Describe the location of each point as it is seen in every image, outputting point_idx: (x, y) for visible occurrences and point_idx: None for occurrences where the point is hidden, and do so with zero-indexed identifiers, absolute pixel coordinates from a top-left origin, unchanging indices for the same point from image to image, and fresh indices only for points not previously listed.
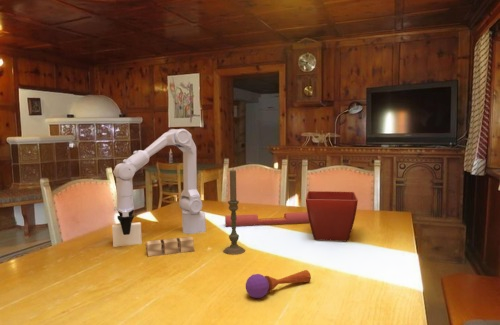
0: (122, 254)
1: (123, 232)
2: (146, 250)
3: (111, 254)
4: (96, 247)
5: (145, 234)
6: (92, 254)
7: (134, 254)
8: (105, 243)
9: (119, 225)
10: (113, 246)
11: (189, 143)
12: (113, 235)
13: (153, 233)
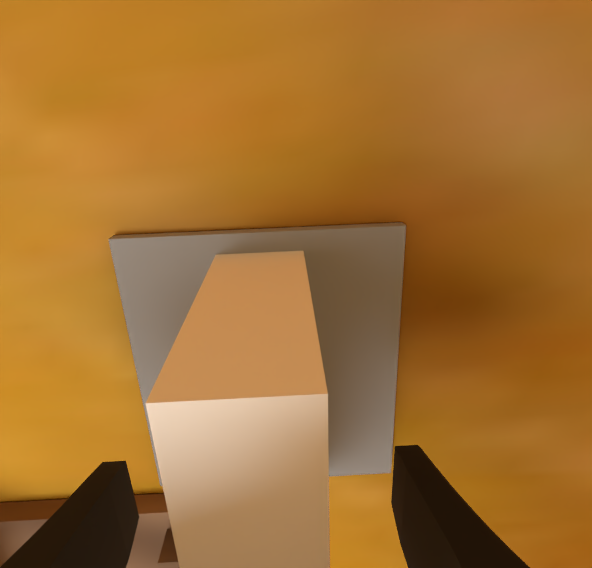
0: (45, 339)
1: (78, 492)
2: (39, 519)
3: (58, 244)
4: (355, 48)
5: (586, 480)
6: (86, 31)
7: (34, 426)
8: (475, 144)
9: (212, 508)
10: (212, 262)
11: None
12: (187, 324)
13: (578, 529)
